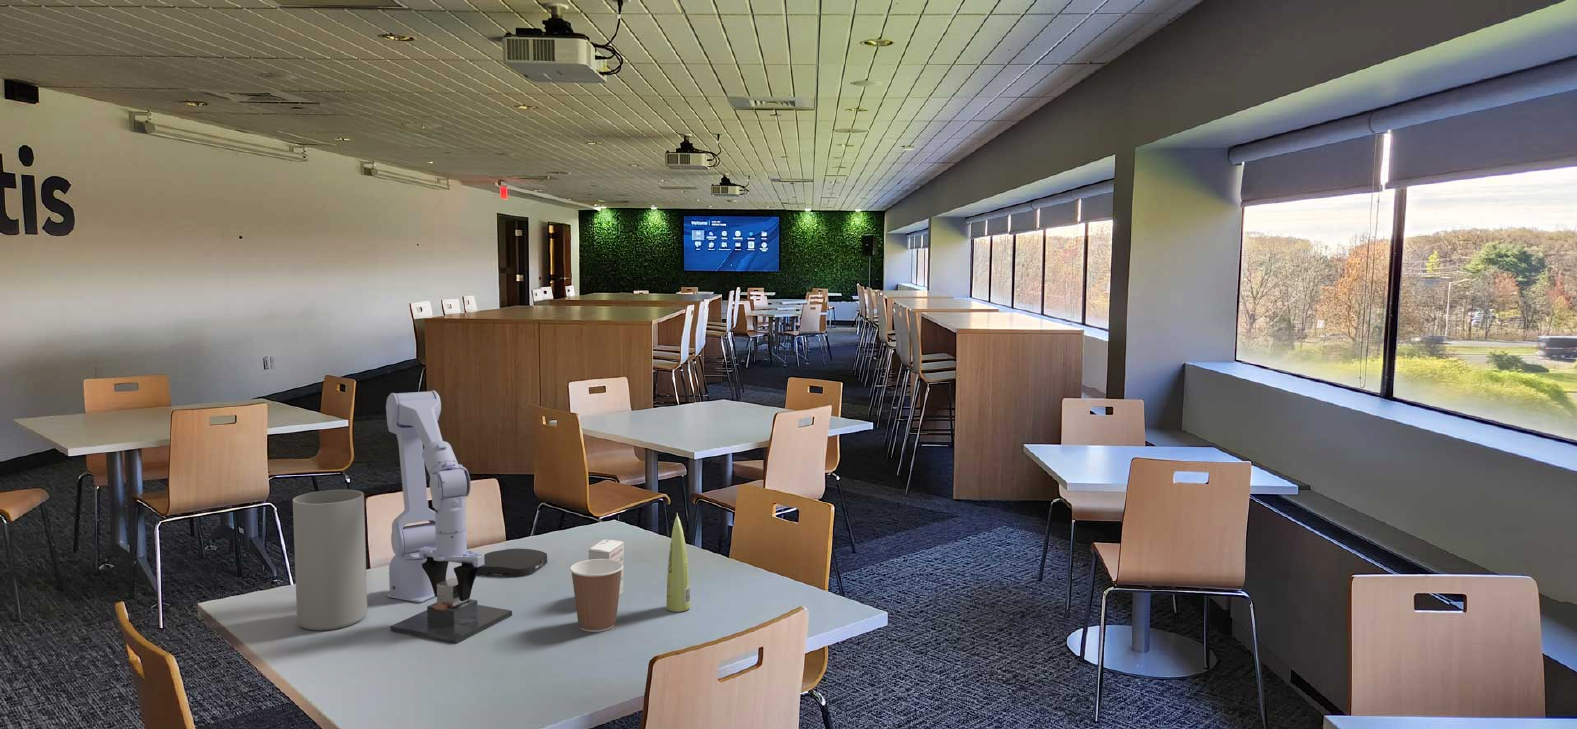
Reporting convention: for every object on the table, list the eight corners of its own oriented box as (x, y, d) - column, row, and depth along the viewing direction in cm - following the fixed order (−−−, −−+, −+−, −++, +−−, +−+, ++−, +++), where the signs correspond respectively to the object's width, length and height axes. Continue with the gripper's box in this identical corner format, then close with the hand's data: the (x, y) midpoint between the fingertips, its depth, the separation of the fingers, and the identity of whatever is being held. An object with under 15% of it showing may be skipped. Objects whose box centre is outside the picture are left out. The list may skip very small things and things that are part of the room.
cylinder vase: (282, 626, 176) (277, 500, 174) (334, 605, 188) (330, 487, 186) (331, 635, 172) (326, 506, 170) (381, 613, 184) (378, 493, 181)
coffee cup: (633, 620, 181) (632, 561, 180) (606, 638, 172) (606, 577, 171) (588, 613, 185) (588, 556, 184) (560, 631, 175) (559, 571, 174)
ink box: (609, 606, 189) (608, 551, 188) (586, 604, 190) (586, 549, 189) (624, 593, 198) (624, 539, 197) (603, 591, 199) (602, 538, 198)
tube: (659, 608, 188) (659, 516, 187) (677, 602, 192) (677, 511, 191) (677, 614, 185) (677, 521, 183) (695, 608, 189) (695, 516, 187)
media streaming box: (496, 557, 223) (496, 546, 223) (552, 561, 221) (552, 549, 221) (467, 576, 209) (467, 563, 209) (527, 579, 207) (527, 567, 207)
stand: (390, 631, 174) (390, 608, 174) (449, 604, 189) (449, 583, 189) (456, 643, 169) (455, 619, 168) (512, 615, 183) (511, 593, 183)
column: (436, 618, 178) (435, 584, 177) (451, 611, 181) (451, 577, 181) (453, 621, 176) (452, 586, 175) (468, 614, 180) (467, 580, 179)
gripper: (406, 531, 176) (408, 598, 177) (466, 539, 171) (467, 609, 172) (433, 522, 183) (434, 588, 184) (491, 530, 177) (492, 597, 179)
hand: (452, 597), depth 178 cm, fingers open, 6 cm apart
